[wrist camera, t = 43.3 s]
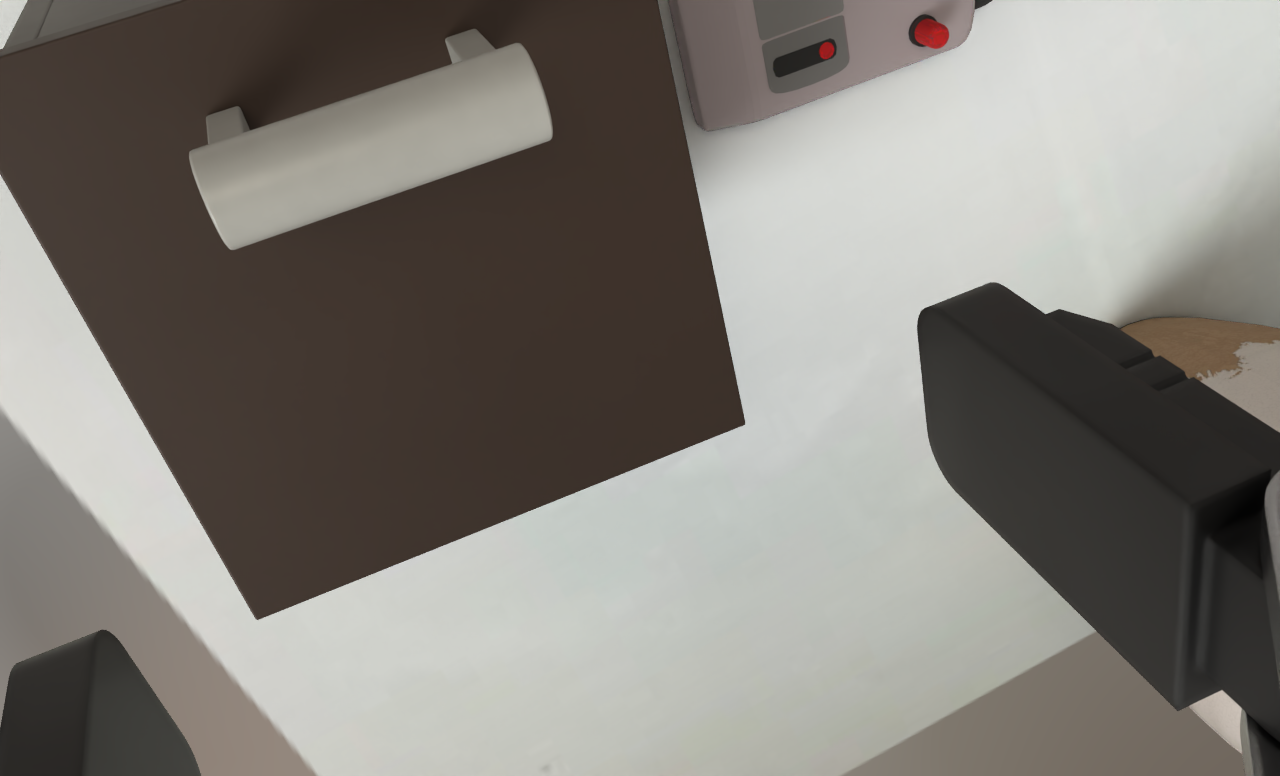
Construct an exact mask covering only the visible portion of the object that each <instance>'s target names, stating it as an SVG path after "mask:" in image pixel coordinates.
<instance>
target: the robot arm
mask: <svg viewBox="0 0 1280 776" xmlns="http://www.w3.org/2000/svg"><path fill="white" fill-rule="evenodd" d="M917 331H918V342H919V352H920V362H921V372H922V382H923V392H924V402H925V412H926V422H927V431H928V438H929V442H930V446H931V449H932V452H933V454H934V457H935V459H936V462H937V464H938V466H939V468H940V470H941V472H942V473H943V475H944V477H945V478H946V480H947V481H948V483H949V484H950V485H951V487H952V488H953V489H954V490H955V491H956V492H957V493H958V494H959V495H960V496H961V497H962V498H963V499H964V500H965V501H966V502H967V503H968V504H969V505H970V506H971V507H972V508H973V509H974V510H975V511H976V512H977V513H978V514H979V515H980V516H981V517H982V518H983V519H984V520H985V521H986V522H987V523H988V524H989V525H990V526H991V527H992V528H993V529H994V530H995V531H996V532H997V533H998V534H999V535H1000V536H1001V537H1002V538H1003V539H1004V540H1005V541H1006V542H1007V543H1008V544H1009V545H1010V546H1011V547H1012V548H1013V549H1014V550H1015V551H1016V552H1017V553H1018V554H1019V555H1020V556H1021V557H1022V558H1023V559H1024V560H1025V561H1026V562H1027V563H1028V564H1029V565H1030V566H1031V567H1032V568H1034V569H1035V570H1036V571H1037V572H1038V573H1039V574H1040V575H1041V576H1042V577H1043V578H1044V579H1045V580H1046V581H1047V582H1048V583H1049V584H1050V585H1051V586H1052V587H1053V588H1054V589H1055V590H1056V591H1057V592H1058V593H1059V594H1060V595H1061V596H1062V597H1063V598H1064V599H1065V600H1066V601H1067V602H1068V603H1069V604H1070V605H1071V606H1072V607H1073V608H1074V609H1075V610H1076V611H1077V612H1078V613H1079V614H1080V615H1081V616H1082V617H1083V618H1084V619H1085V620H1086V621H1087V622H1088V623H1089V624H1090V625H1091V626H1092V627H1093V628H1094V629H1095V630H1096V631H1097V632H1098V633H1099V634H1100V635H1101V636H1102V637H1103V638H1104V639H1105V640H1106V641H1107V642H1109V644H1110V645H1111V646H1112V647H1113V648H1115V650H1116V651H1117V652H1119V654H1120V655H1121V656H1122V657H1123V658H1124V659H1125V660H1127V661H1128V662H1129V663H1130V664H1131V665H1132V666H1133V667H1134V668H1135V669H1136V670H1137V671H1138V672H1139V673H1140V674H1141V675H1142V676H1143V677H1144V678H1145V679H1146V680H1147V681H1148V682H1149V683H1150V684H1151V685H1152V686H1153V687H1154V688H1155V689H1156V690H1157V691H1158V692H1159V693H1160V694H1161V695H1162V696H1163V697H1164V698H1165V699H1166V700H1167V701H1168V702H1169V703H1170V704H1171V705H1172V706H1173V707H1174V708H1175V709H1176V710H1177V711H1179V710H1181V709H1183V708H1185V707H1187V706H1190V705H1192V704H1194V703H1196V702H1198V701H1200V700H1202V699H1204V698H1206V697H1208V696H1211V695H1213V694H1215V693H1217V692H1219V691H1221V690H1223V691H1224V692H1225V693H1226V694H1227V695H1228V696H1229V697H1230V698H1231V699H1232V700H1233V701H1235V702H1236V703H1237V704H1238V705H1239V706H1240V707H1241V708H1242V710H1241V720H1240V738H1241V747H1242V755H1243V765H1244V772H1245V776H1280V433H1279V432H1278V431H1276V430H1275V429H1273V428H1272V427H1270V426H1269V425H1267V424H1266V423H1264V422H1262V421H1261V420H1259V419H1258V418H1256V417H1255V416H1253V415H1252V414H1250V413H1248V412H1247V411H1245V410H1244V409H1242V408H1241V407H1239V406H1238V405H1236V404H1235V403H1233V402H1231V401H1230V400H1228V399H1227V398H1225V397H1224V396H1222V395H1221V394H1219V393H1218V392H1216V391H1214V390H1213V389H1211V388H1210V387H1208V386H1207V385H1205V384H1204V383H1202V382H1201V381H1199V380H1197V379H1196V378H1194V377H1192V378H1190V379H1188V378H1187V376H1186V374H1185V371H1184V370H1182V369H1180V368H1179V367H1177V366H1176V365H1174V364H1173V363H1171V362H1170V361H1168V360H1166V359H1165V358H1163V357H1162V356H1160V355H1159V356H1157V357H1155V356H1154V355H1153V353H1152V350H1151V349H1149V348H1148V347H1146V346H1145V345H1143V344H1142V343H1140V342H1139V341H1137V340H1136V339H1134V338H1132V337H1131V336H1129V335H1128V334H1126V333H1125V332H1123V331H1122V330H1120V329H1119V328H1117V327H1115V326H1114V325H1112V324H1109V323H1106V322H1102V321H1099V320H1095V319H1092V318H1088V317H1085V316H1081V315H1078V314H1074V313H1071V312H1067V311H1064V310H1061V309H1058V310H1056V311H1053V312H1051V313H1048V314H1044V313H1043V312H1041V311H1040V310H1038V309H1037V308H1036V307H1034V306H1033V305H1031V304H1030V303H1028V302H1027V301H1025V300H1024V299H1022V298H1021V297H1019V296H1018V295H1017V294H1015V293H1014V292H1012V291H1011V290H1009V289H1008V288H1006V287H1005V286H1003V285H1001V284H998V283H988V284H985V285H983V286H980V287H978V288H975V289H973V290H970V291H968V292H965V293H962V294H960V295H957V296H955V297H952V298H950V299H947V300H945V301H942V302H940V303H937V304H935V305H932V306H929V307H927V308H924V309H923V310H922V311H921V313H920V315H919V318H918V325H917ZM0 776H201V774H200V771H199V767H198V765H197V762H196V759H195V757H194V755H193V752H192V750H191V748H190V746H189V744H188V743H187V741H186V739H185V737H184V736H183V734H182V733H181V731H180V730H179V728H178V727H177V725H176V724H175V722H174V721H173V719H172V718H171V716H170V715H169V713H168V712H167V710H166V709H165V708H164V706H163V705H162V703H161V702H160V700H159V699H158V697H157V696H156V694H155V693H154V691H153V690H152V688H151V687H150V685H149V684H148V682H147V681H146V679H145V678H144V677H143V675H142V674H141V672H140V670H139V669H138V668H137V666H136V665H135V663H134V662H133V660H132V659H131V658H130V656H129V654H128V653H127V651H126V650H125V648H124V647H123V646H122V644H121V643H120V641H119V640H118V639H117V638H116V637H115V636H114V635H113V634H111V633H110V632H109V631H106V630H100V631H98V632H95V633H92V634H90V635H87V636H85V637H82V638H80V639H77V640H75V641H72V642H70V643H67V644H64V645H62V646H59V647H57V648H55V649H52V650H49V651H47V652H44V653H42V654H39V655H37V656H34V657H31V658H29V659H26V660H24V661H21V662H19V663H17V664H16V665H14V667H13V668H12V670H11V672H10V676H9V681H8V686H7V692H6V698H5V704H4V710H3V716H2V722H1V727H0Z"/></svg>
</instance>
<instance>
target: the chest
mask: <svg viewBox="0 0 1280 776" xmlns="http://www.w3.org/2000/svg"><path fill="white" fill-rule="evenodd" d="M157 1H160V0H28V1H27V3H26V5H25V7H24V9H23V11H22V13H21V15H20V17H19V19H18V20H17V22H16V24H15V26H14V28H13V30H12V32H11V34H10V36H9V38H8V40H7V42H6V44H5V46H4V48H7V47H10V46H14V45H17V44H20V43H23V42H27V41H30V40H33V39H36V38H40V37H43V36H46V35H49V34H53V33H56V32H59V31H62V30H66V29H69V28H72V27H75V26H79V25H82V24H85V23H88V22H92V21H95V20H98V19H102V18H105V17H108V16H111V15H115V14H118V13H121V12H124V11H128V10H131V9H134V8H137V7H141V6H144V5H147V4H150V3H154V2H157ZM4 48H3V49H4Z"/></svg>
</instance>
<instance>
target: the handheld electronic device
mask: <svg viewBox="0 0 1280 776" xmlns="http://www.w3.org/2000/svg"><path fill="white" fill-rule="evenodd" d="M668 1H669V6H670V10H671V15H672V19H673V24H674V28H675V33H676V38H677V42H678V47H679V51H680V56H681V60H682V65H683V69H684V74H685V78H686V83H687V87H688V92H689V96H690V101H691V105H692V109H693V112H694V116H695V119H696V122H697V124H698V125H699V126H701V127H702V128H703V129H704V130H706V131H713V130H719V129H724V128H729V127H734V126H739V125H745V124H749V123H753V122H757V121H760V120H763V119H766V118H769V117H771V116H774V115H777V114H779V113H782V112H785V111H787V110H790V109H793V108H795V107H798V106H801V105H803V104H806V103H809V102H811V101H814V100H817V99H819V98H822V97H825V96H827V95H830V94H833V93H835V92H838V91H841V90H843V89H846V88H849V87H852V86H854V85H857V84H860V83H862V82H865V81H868V80H870V79H873V78H876V77H878V76H881V75H884V74H886V73H889V72H892V71H894V70H897V69H900V68H902V67H905V66H908V65H910V64H913V63H916V62H918V61H921V60H924V59H926V58H929V57H932V56H935V55H937V54H940V53H943V52H945V51H948V50H951V49H953V48H956V47H958V46H960V45H961V44H962V43H963V42H964V41H965V40H966V39H967V37H968V35H969V33H970V31H971V28H972V22H973V17H974V11H975V9H977V8H980V7H982V6H984V5H986V4H988V3H989V2H991V1H992V0H668Z"/></svg>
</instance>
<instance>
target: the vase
mask: <svg viewBox="0 0 1280 776" xmlns="http://www.w3.org/2000/svg"><path fill="white" fill-rule="evenodd" d="M1120 330H1122V331H1123V332H1125V333H1126V334H1128V335H1129V336H1131V337H1132V338H1134V339H1136V340H1137V341H1139V342H1140V343H1142V344H1143V345H1145V346H1146V347H1148V348H1149V349H1151V350H1152V353H1153V355H1154V356H1155V357H1157V356H1159V355H1160V356H1162V357H1163V358H1165V359H1166V360H1168V361H1170V362H1171V363H1173V364H1174V365H1176V366H1177V367H1179V368H1180V369H1182V370H1184V371H1185V374H1186V376H1187V378H1188V379H1190V378H1192V377H1194V378H1196V379H1197V380H1199V381H1201V382H1202V383H1204V384H1205V385H1207V386H1208V387H1210V388H1211V389H1213V390H1214V391H1216V392H1218V393H1219V394H1221V395H1222V396H1224V397H1225V398H1227V399H1228V400H1230V401H1231V402H1233V403H1235V404H1236V405H1238V406H1239V407H1241V408H1242V409H1244V410H1245V411H1247V412H1248V413H1250V414H1252V415H1253V416H1255V417H1256V418H1258V419H1259V420H1261V421H1262V422H1264V423H1266V424H1267V425H1269V426H1270V427H1272V428H1273V429H1275V430H1276V431H1278V432H1279V433H1280V329H1278V328H1273V327H1268V326H1263V325H1256V324H1248V323H1239V322H1231V321H1222V320H1213V319H1204V318H1174V317H1163V318H1153V319H1147V320H1142V321H1138V322H1135V323H1132V324H1129V325H1127V326H1125V327H1123V328H1121V329H1120ZM1189 707H1190V708H1191V709H1192V710H1193V711H1194V712H1195V713H1196V714H1197V715H1198V716H1199V717H1200V718H1201V719H1202V720H1203V721H1205V722H1206V723H1207V724H1208V725H1209V726H1210V727H1211V728H1212V729H1213V730H1214V731H1216V732H1217V733H1218V734H1219V735H1220V736H1221V737H1222V738H1223V739H1224V740H1225V741H1227V742H1228V743H1229V744H1230V745H1231V746H1232V747H1234V748H1235V749H1236V750H1238V751H1239V752H1240V753H1242V747H1241V738H1240V720H1241V710H1242V708H1241V707H1240V706H1239V705H1238V704H1237V703H1236V702H1235V701H1233V700H1232V699H1231V698H1230V697H1229V696H1228V695H1227V694H1226V693H1225V692H1224V691H1223V690H1221V691H1219V692H1217V693H1215V694H1213V695H1211V696H1208V697H1206V698H1204V699H1202V700H1200V701H1198V702H1196V703H1194V704H1192V705H1190V706H1189Z"/></svg>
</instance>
